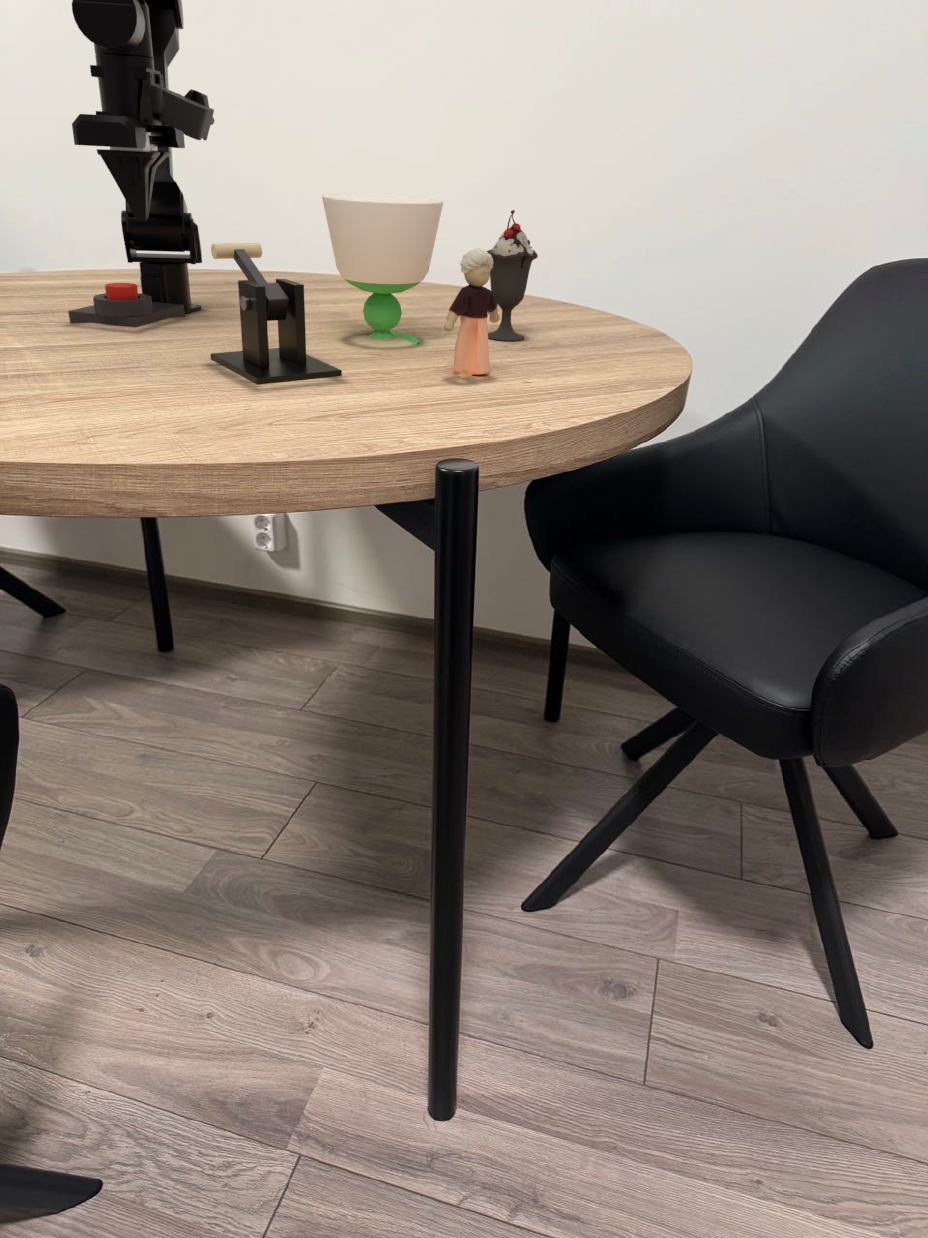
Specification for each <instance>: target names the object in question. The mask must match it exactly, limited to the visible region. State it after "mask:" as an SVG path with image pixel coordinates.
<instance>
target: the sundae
mask: <svg viewBox="0 0 928 1238" xmlns="http://www.w3.org/2000/svg"><path fill="white" fill-rule="evenodd" d="M514 213H516V210H514V209H513V210H510V216H509V218H508V221H507V227H506V229H504V231H503V232H502V233H501V235H500V237H498V240H497V241H496V243H495V244H494V246H493V247H492V248H491V249H488V250H485V251H486V252H488V254H490V255H491V256H492V258H493V268H492V269H491V271H490V278H489V283H490V290H491V291H492V293H493V295H494V297H495V299H496V302H497V306H499V307H500V309H501V319H500V324H499V326H498V327H497V328H496V330H494V331H491V332H488V339H490V340H494V341H501V342H518V341H523V340H524V339H525V336H524V335H523V334H520V333H518V332H516V331H515V330H514V329H513V326H512V311H513V310H514V308H516V307H517V306H519V304H520V303H521V302H522V301H523V300H524V298H525V293H526V289H527V286H528V280H529V276H530V275H529V274H530V270H531V268H532V267H531V266H532V262H533V261H535V260H536V259H538V257H539V255H538V253H537V252H536V250H534V249H533V247H532V246H531V240H530V239H528V237H527V235H526V233H525V232H524V231H523V230H522V229H521V224H520V223H517V222H516V221H515V220H514ZM511 219H512V222H513V224H511V226H510V222H511Z"/></svg>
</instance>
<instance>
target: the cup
mask: <svg viewBox="0 0 928 1238" xmlns="http://www.w3.org/2000/svg"><path fill="white" fill-rule="evenodd" d="M321 199H322V203H323V208H324V214H325V217H326V222H327V228H328V233H329V238H330V243H331V248H332V253H333V257H334V262H335V268H336V269H337V271H338V273H339V274H340V276H341V278H343V280H345V282H347V283H348V284H349V285H351V286H352V287H355V288H357V289H359V290H360V291H363V292H367V293H372V294H371V295H369V296H368V297H367V299H366V300H365V302H364V303H363V309H362V314H363V318H364V320H365V322H366V323H367V325H368V327H370V328H371V329H372V330H373V332H372V333H370V334H369V335H368V336H369V337H370V338H372V339H379V340H380V339H381V340H385V339H386V340H388V339H394V338H399V339H401V340H404V341H406V342H409V343H412V344H415V345H418V344H419V343H420V342H421V341H420V340H419V338H418V337H416V336H413V335H411V334H408V333H407V334H406V333H400V332H391V330H393V329H395V328H396V327H397V325H398V324H399V323H400V321H401V319H402V313H403V311H402V306H401V303H400V302H399V300H398V298H397V297H396V296H395V295H393V294H397V293H398V294H399V293H403V292H406V291H407V290H410V289H412V288H415V287H416V286H418V285H419V284H420V283H421V282H422V281H424V280H425V278H426V276H427V275H428V273H429V270H430V267H431V262H432V258H433V252H434V248H435V243H436V239H437V235H438V230H439V229H438V228H439V224H440V220H441V217H442V211H443V207H444V201H443V199H440V198H433V197H428V196H427V197H426V196H416V195H402V194H389V193H386V194H385V193H363V192H362V193H358V192H355V193H354V192H353V193H350V192H349V193H348V192H339V193H338V192H337V193H324V194H322V195H321Z"/></svg>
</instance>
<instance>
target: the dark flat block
mask: <svg viewBox="0 0 928 1238" xmlns="http://www.w3.org/2000/svg"><path fill="white" fill-rule="evenodd" d="M92 301H93V304H92V305H89V306H85V307H79V308H76V309H71V310H68V311H67V312H68V318H69V319H68V320H69V324H71V325H73V324H86V323H87V324H89V323H91V324H100V325H101V324H102V325H109V326H119V327H127V328H128V327H129V328H139V327H142V326H146V325H149V324H153V323H155V322H160V321H163V320H167V319H173V318H185V314H186V313H185V314H184V305H181V304H171V303H158V302H152V299H151V296H149V295H146V294H142V293H140V292H138V298H137V299H129V300H115V299H107V297H106V292H105V293H100V294H95V295H94V296H93V297H92Z"/></svg>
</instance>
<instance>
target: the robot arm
mask: <svg viewBox="0 0 928 1238" xmlns="http://www.w3.org/2000/svg"><path fill="white" fill-rule="evenodd" d="M71 12H72V15H73V20H74V22H75V23H76V25H77V28H78V30H80V32H81V33H82V35H83V36H84V37H85V38H86V39H87V40H88V41H90V42H91V43H93V45H94V46H93V47H94V54H95V64H90V65H89V68H90V76H91V77H92V78H97V82H98V90H99V96H100V106H101V110H95V114H91V113H90V114H88V113H79V114H78V115H77V116H76V118H75V119H74V120H73V122H72V123H71V129H72V135H73V143H74V146H87V147H88V146H89V147H92V146H93V147H109V149H105V148H104V149H103V148H102V149H101V148H100V149H99V148H97V149H96V153H97V155H99V156H100V157H101V159H102V161H103V163H104V164H105V166H106V168H107V170H108V171H109V173H110V174H111V177H112V178H113V180H114V182H115V183H116V185H117V187H118V189H119V190H120V192H121V194H122V196H123V198H124V200H125V201H124V203H125V204H124V205H125V210H121V212H120V214H121V215H120V222H121V231H122V237H123V242H124V248H125V254H126V261H127V263H128V264H133V263H139V272H140V277H139V279H140V288H141V294H146V295H149V296H151V299H152V302H158V303H171V304H181V305H184V314H188V313H192V312H196V311H199V310H202V305H201V304H192V300H191V299H192V298H191V288H190V287H191V286H190V278H189V277H190V275H189V265H188V264H190V265H196V264H202V263H203V256H202V255H203V254H202V244H201V238H200V232H199V225H198V224H197V223H196V222H195V220H194V218H193V215H192V213H191V212H188V207H187V203H186V200H185V197H184V193H183V192H182V190H181V188H180V187H179V185H178V183H177V181H175V179H174V167H173V151H172V150H173V149H186V145H185V144H186V143H185V136H186V137H188V138H191V139H194V140H196V141H202V140H203V141H207V140H208V136H209V133H210V129H211V126H212V125H214V124H215V117H214V112H215V109H214V108H211V107H210V104H209V98H208V95H207V94H204V93H202V92H200V91H198V90H195V89H189V90H188V91H187V93H186V94H185V95H182V94H180V93H178V92H175V91H173V90H170V88H169V66H170V65H171V63H172V61H173V60H174V58H175V57H176V56H177V53H178V52H179V50H180V30H184V26H185V25H184V11H183V2H182V0H71ZM137 251H138V252H137ZM147 252H149V253H147ZM151 252H168V253H151ZM169 252H172V253H169ZM173 252H174V253H173ZM185 252H189V254H188V253H187V254H186V253H185ZM182 253H185V254H182Z"/></svg>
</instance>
